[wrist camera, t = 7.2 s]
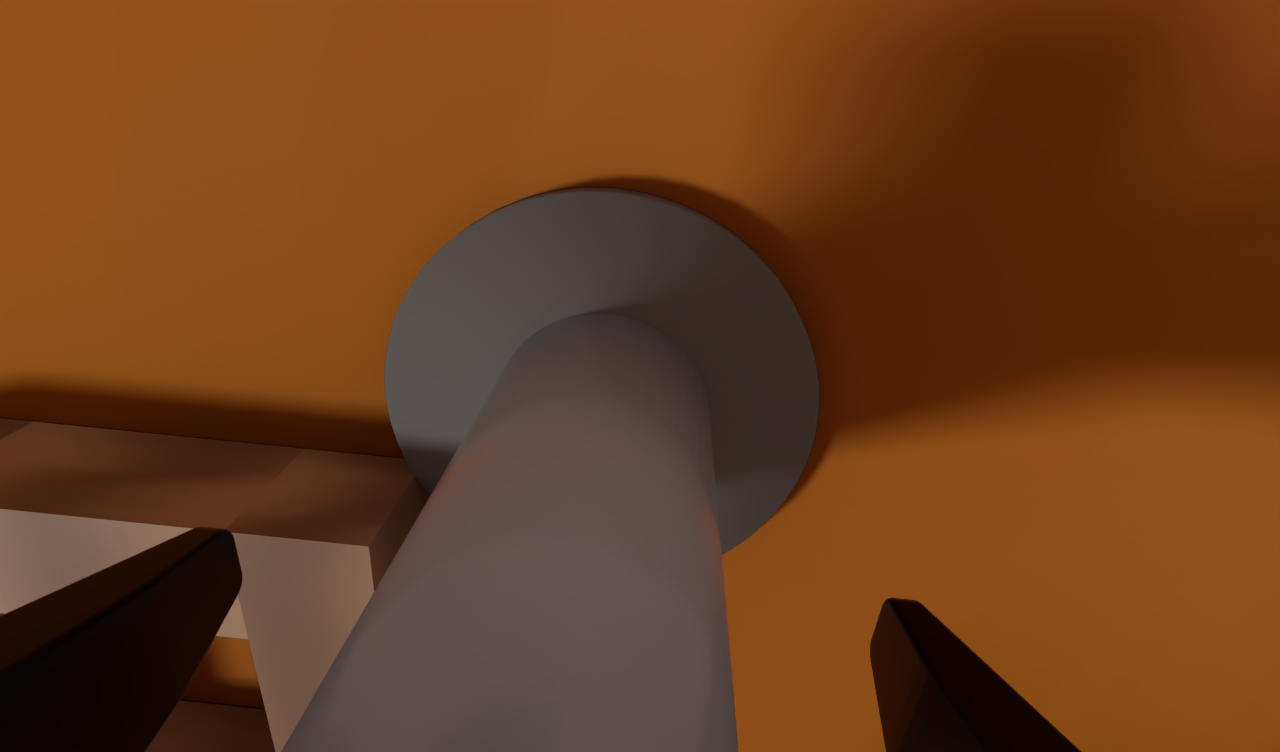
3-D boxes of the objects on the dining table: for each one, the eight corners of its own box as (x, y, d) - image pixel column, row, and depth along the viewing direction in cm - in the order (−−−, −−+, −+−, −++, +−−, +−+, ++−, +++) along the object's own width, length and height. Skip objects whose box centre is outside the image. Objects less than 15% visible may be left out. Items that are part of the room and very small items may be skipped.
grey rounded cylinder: (722, 325, 13) (801, 793, 4) (695, 510, 14) (714, 1075, 6) (496, 302, 13) (168, 724, 5) (498, 490, 15) (268, 1024, 6)
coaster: (856, 210, 12) (864, 217, 12) (774, 581, 16) (778, 599, 15) (377, 165, 12) (363, 170, 12) (410, 544, 16) (401, 560, 16)
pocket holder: (425, 460, 15) (368, 546, 12) (447, 789, 20) (411, 901, 17) (-85, 409, 15) (-250, 483, 13) (66, 748, 20) (-28, 852, 18)
